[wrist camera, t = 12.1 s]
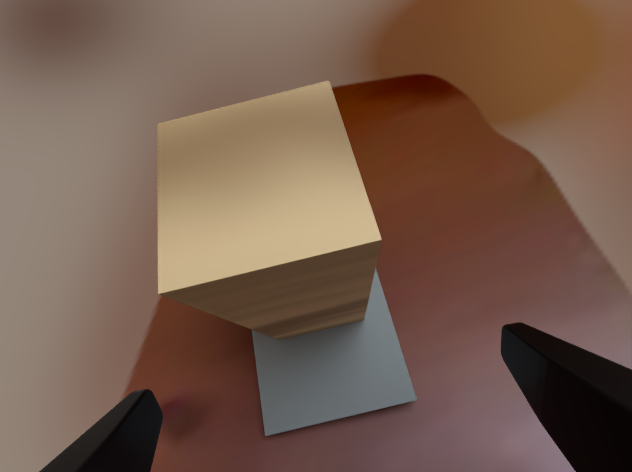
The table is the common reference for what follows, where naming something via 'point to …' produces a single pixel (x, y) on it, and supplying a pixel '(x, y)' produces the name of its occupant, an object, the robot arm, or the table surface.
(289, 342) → the slate board
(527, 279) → the table surface
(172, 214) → the block
